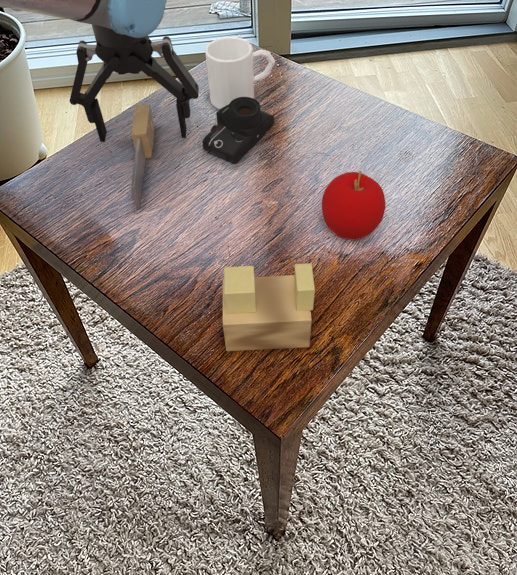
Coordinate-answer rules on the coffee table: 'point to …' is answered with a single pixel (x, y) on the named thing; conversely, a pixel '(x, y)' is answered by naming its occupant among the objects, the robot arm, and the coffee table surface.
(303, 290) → the butter slice
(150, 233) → the coffee table surface
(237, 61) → the mug
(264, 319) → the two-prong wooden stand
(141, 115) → the knife
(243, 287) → the butter block
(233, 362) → the coffee table surface
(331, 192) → the fruit
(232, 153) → the film camera
